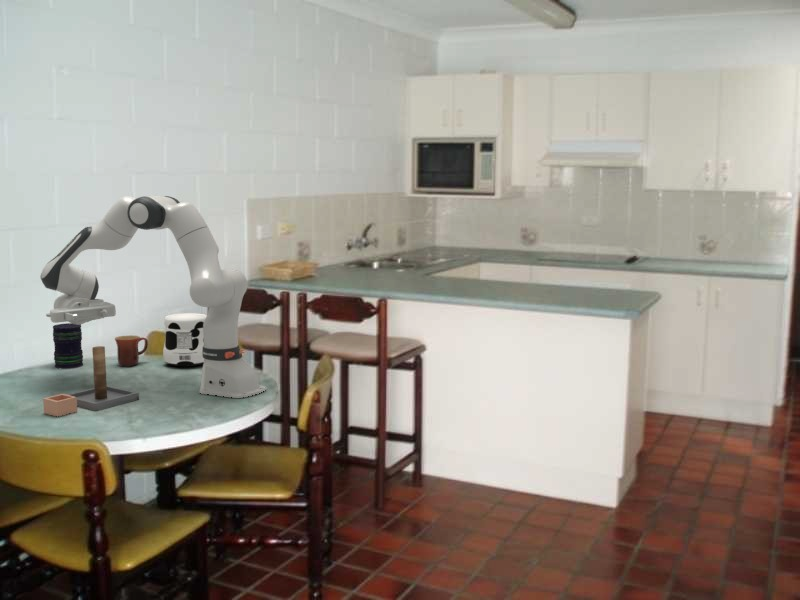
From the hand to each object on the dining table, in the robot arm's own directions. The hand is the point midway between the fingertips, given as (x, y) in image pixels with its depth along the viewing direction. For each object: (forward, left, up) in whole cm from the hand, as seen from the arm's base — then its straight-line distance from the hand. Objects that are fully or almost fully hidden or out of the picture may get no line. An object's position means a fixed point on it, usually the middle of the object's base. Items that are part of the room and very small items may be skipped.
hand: (89, 315), depth 274 cm
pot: (-13, +21, -25) cm, 35 cm away
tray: (-12, +6, -25) cm, 28 cm away
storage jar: (+38, -18, -25) cm, 49 cm away
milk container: (+5, -45, -25) cm, 52 cm away
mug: (+21, -33, -25) cm, 47 cm away
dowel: (-12, +6, -24) cm, 27 cm away
